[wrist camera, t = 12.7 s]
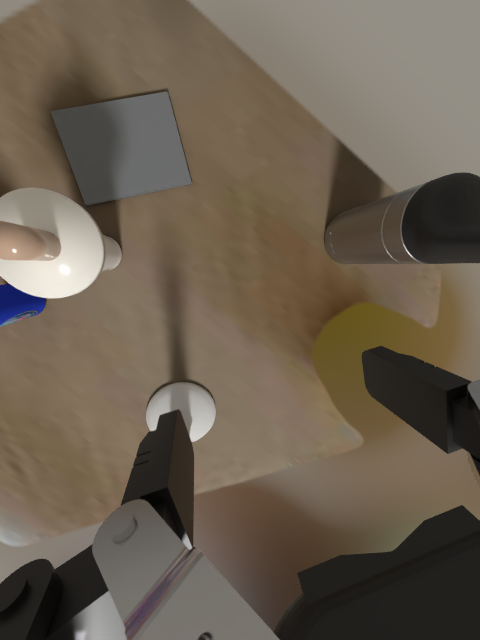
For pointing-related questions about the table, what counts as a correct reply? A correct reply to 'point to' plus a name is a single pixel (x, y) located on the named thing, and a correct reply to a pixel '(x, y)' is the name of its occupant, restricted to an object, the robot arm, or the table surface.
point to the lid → (48, 244)
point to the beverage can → (18, 304)
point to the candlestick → (184, 407)
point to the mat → (123, 147)
